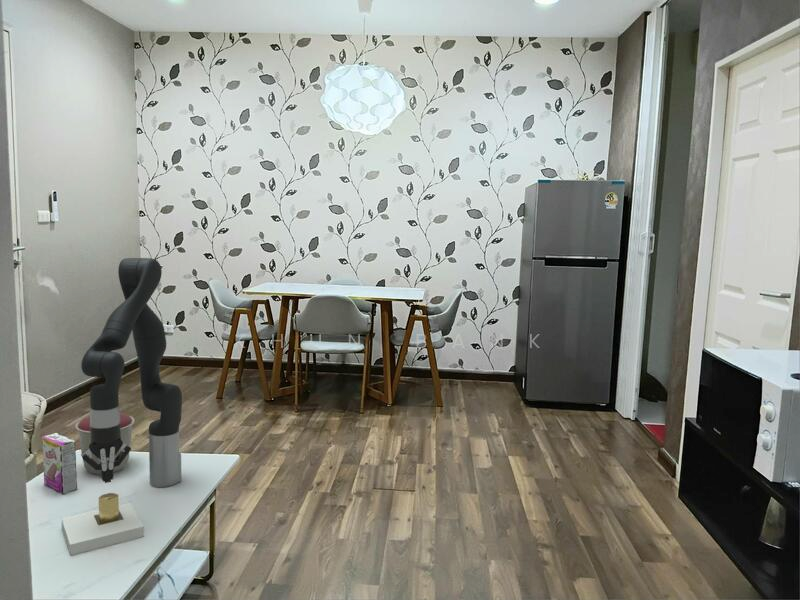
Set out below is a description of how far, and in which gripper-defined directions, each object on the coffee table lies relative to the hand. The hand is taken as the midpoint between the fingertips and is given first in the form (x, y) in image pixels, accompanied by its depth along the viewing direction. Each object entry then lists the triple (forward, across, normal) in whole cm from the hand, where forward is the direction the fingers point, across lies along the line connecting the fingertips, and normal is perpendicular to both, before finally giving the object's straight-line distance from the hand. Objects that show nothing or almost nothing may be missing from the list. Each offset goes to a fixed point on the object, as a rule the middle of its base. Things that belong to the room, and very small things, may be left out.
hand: (107, 481), depth 172 cm
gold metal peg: (+13, 0, +1) cm, 13 cm away
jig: (+13, +2, +3) cm, 14 cm away
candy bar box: (+14, +8, -33) cm, 37 cm away
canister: (+14, -7, -41) cm, 44 cm away
